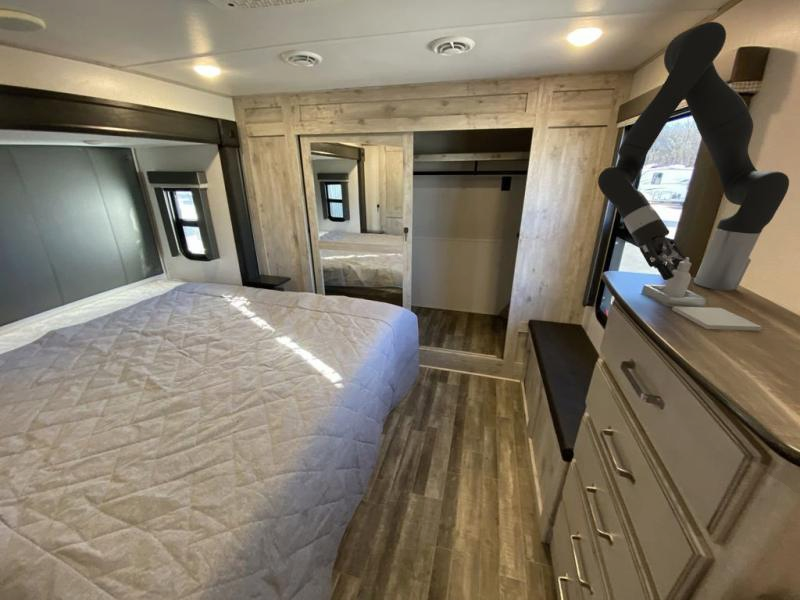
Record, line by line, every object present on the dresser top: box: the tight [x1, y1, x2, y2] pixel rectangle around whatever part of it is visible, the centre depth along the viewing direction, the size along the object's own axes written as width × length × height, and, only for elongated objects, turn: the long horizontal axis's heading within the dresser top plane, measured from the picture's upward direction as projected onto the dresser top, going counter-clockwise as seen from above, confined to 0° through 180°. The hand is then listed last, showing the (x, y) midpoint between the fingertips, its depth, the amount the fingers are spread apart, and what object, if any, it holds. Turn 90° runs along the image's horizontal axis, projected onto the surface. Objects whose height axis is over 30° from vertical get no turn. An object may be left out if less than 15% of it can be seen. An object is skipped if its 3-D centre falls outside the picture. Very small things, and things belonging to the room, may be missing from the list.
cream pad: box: [671, 306, 762, 332], centre depth 75 cm, size 12×10×1 cm
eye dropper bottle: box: [663, 256, 692, 297], centre depth 84 cm, size 4×6×12 cm
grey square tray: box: [641, 284, 708, 308], centre depth 86 cm, size 10×10×2 cm
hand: (677, 276), depth 84 cm, fingers open, 8 cm apart
